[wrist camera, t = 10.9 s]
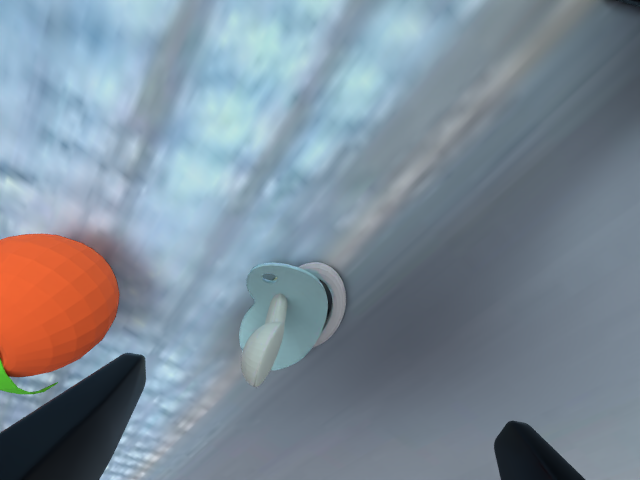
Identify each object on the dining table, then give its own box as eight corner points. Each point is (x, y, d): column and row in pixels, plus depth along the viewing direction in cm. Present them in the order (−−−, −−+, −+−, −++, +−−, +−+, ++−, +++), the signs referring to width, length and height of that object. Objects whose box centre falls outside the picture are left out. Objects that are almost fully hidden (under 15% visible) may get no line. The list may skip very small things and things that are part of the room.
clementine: (160, 326, 22) (89, 430, 15) (57, 327, 22) (-56, 430, 15) (124, 211, 18) (13, 282, 12) (2, 214, 18) (-173, 286, 12)
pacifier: (358, 257, 19) (254, 238, 19) (375, 333, 14) (227, 309, 13) (330, 350, 22) (241, 337, 22) (334, 442, 17) (214, 427, 16)
